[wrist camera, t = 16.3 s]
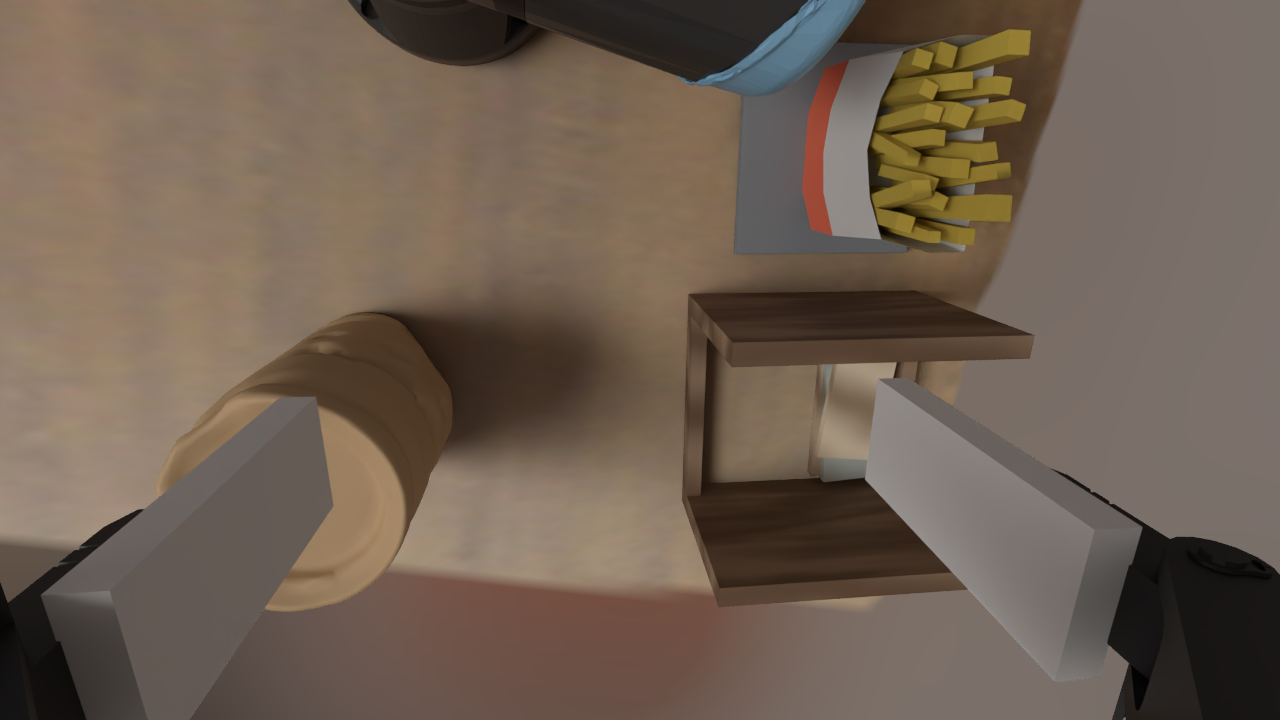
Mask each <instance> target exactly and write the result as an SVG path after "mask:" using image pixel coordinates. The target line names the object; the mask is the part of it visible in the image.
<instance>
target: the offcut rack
mask: <svg viewBox="0 0 1280 720" xmlns="http://www.w3.org/2000/svg"><path fill="white" fill-rule="evenodd" d="M707 337H708V338H709V339H710V341H711V342H712V343H713V344H714V346H715V347H716V348H717V349H718V351H719V352H720V353H721V354H722V356H723V357H724V358H725V359H726V361H727V362H728V363H729V364H730V366H731V367H754V366H789V365H818V370H817V381H816V391H815V401H814V411H813V421H812V432H811V442H810V452H809V462H808V473H809V474H810V475H811V476H814V475H820V478H814V479H794V480H774V481H754V482H733V483H713V484H701V477H702V452H703V428H704V404H705V379H706V355H707ZM1033 340H1034V335H1032V334H1030V333H1027V332H1024V331H1022V330H1019V329H1016V328H1014V327H1011V326H1008V325H1006V324H1003V323H1000V322H997V321H995V320H992V319H989V318H987V317H984V316H981V315H979V314H976V313H973V312H971V311H968V310H965V309H963V308H960V307H957V306H955V305H952V304H949V303H946V302H944V301H941V300H938V299H936V298H933V297H930V296H928V295H925V294H922V293H920V292H917V291H860V292H797V293H734V294H689V296H688V328H687V360H686V393H685V425H684V457H683V489H682V501H683V504H684V507H685V510H686V513H687V516H688V519H689V522H690V525H691V528H692V530H693V533H694V536H695V539H696V542H697V545H698V548H699V551H700V554H701V557H702V560H703V563H704V566H705V569H706V572H707V574H708V577H709V580H710V583H711V586H712V589H713V592H714V595H715V598H716V601H717V604H718V607H726V606H741V605H755V604H769V603H783V602H797V601H812V600H826V599H840V598H854V597H868V596H882V595H896V594H910V593H923V592H937V591H952V590H965V589H967V588H966V587H965V585H964V584H963V583H962V582H961V581H960V580H959V579H958V578H957V577H956V576H955V575H954V574H953V573H952V572H951V571H950V569H949V568H948V567H947V566H946V565H945V564H944V563H943V562H942V561H941V560H940V559H939V558H938V557H937V556H936V555H935V553H934V552H933V551H932V550H931V549H930V548H929V547H928V546H927V545H926V544H925V543H924V542H923V541H922V540H921V539H920V537H919V536H918V535H917V534H916V533H915V532H914V531H913V530H912V529H911V528H910V527H909V526H908V525H907V524H906V523H905V521H904V520H903V519H902V518H901V517H900V516H899V515H898V514H897V513H896V512H895V511H894V510H893V509H892V508H891V507H890V505H889V504H888V503H887V502H886V501H885V500H884V499H883V498H882V497H881V496H880V495H879V494H878V493H877V492H876V491H875V489H874V488H873V487H872V486H871V485H870V484H869V483H868V482H867V481H866V480H865V475H866V467H867V460H868V452H869V444H870V437H871V429H872V421H873V413H874V406H875V398H876V390H877V383H878V379H883V378H909V379H910V380H912V381H914V382H915V378H916V372H917V365H918V362H927V361H962V360H996V359H1029V358H1030V355H1031V350H1032V345H1033Z"/></svg>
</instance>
